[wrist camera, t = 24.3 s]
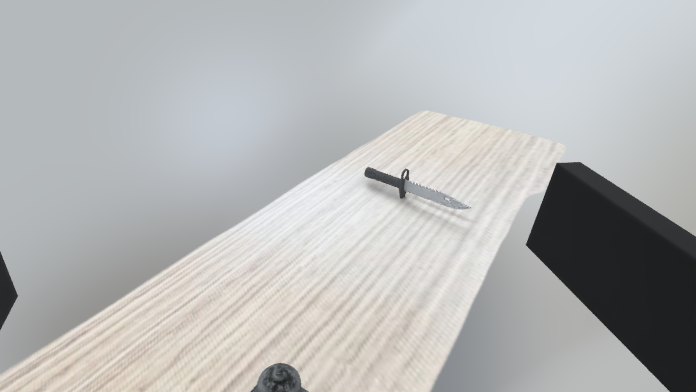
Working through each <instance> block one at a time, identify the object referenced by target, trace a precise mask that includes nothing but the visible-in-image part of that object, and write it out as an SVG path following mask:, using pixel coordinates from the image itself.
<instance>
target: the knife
mask: <svg viewBox="0 0 696 392" xmlns="http://www.w3.org/2000/svg"><path fill="white" fill-rule="evenodd" d="M406 170H407V175H406V177H405V178H404V179H403V176H404V173H405V171H406ZM365 176H366V177H368V178H371V179H376V180H378V181H381V182H383V183H386V184H389V185H391V186H394V187H397V188H399V192H400V198H403V197H404V196H405V194H406V191H407V192H409V193H412V194H415V195H417V196H420V197H423V198H425V199H428V200H431V201H434V202H436V203H439V204H442V205H444V206H447V207H451V208H454V209H469V208H471V207H469V206H467V205H465V204H463V203H461V202H459V201H458V200H456V199H454V198H452V197H450V196H448V195H447V194H445V193H443V192H441V191H439V193H438V191H437V190H436V192H435V190H434V189H432V190H431V188H429V189H428V187H424V186H421V185H420V184H419V186H418V184H417V183H416V185H415V183H414V182H413V184H412V182H411V181H409V170H408V169H404V171H403V172H402V175H401V179H399V178H397V177H393V176H391V175H388V174H386V173H383V172H380V171H377V170H375V169H373V168H370V167H368V168H366V170H365ZM425 188H426V189H425ZM445 198H448V199H450V201H447V200H445Z"/></svg>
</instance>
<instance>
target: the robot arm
mask: <svg viewBox="0 0 696 392" xmlns="http://www.w3.org/2000/svg"><path fill="white" fill-rule="evenodd" d="M526 246H527V247H528V248H529V249H530V250H531V251H532V252H533V253H534V254H535V255H536V256H537V257H538V258H539V259H540V260H541V261H542V262H543V263H544V264H545V265H546V266H547V267H548V268H549V269H550V270H551V271H552V272H553V273H554V274H555V275H556V276H557V277H558V278H559V279H560V280H561V281H562V282H563V283H564V284H565V285H566V286H567V287H568V288H569V289H570V290H571V291H572V292H573V293H574V294H575V295H576V297H577V298H579V300H580V301H581V302H582V303H583V304H584V305H585V306H586V307H587V308H588V309H589V310H590V311H591V312H592V313H593V314H594V315H595V316H596V317H597V318H598V319H599V320H600V321H601V322H602V323H603V324H604V325H605V326H606V327H607V328H608V329H609V330H610V331H611V332H612V333H613V334H614V335H615V336H616V337H617V338H618V339H619V340H620V341H621V342H622V343H623V344H624V345H625V346H626V347H627V348H628V349H629V350H630V351H631V352H632V354H634V355H635V357H636V358H637V359H638V360H639V361H640V362H641V363H642V364H643V365H644V366H645V367H647V369H648V370H649V371H650V372H651V373H652V374H653V375H654V376H655V377H656V378H657V379H658V380H659V381H660V382H661V383H662V384H663V385H664V386H665V387H666V388H667V389H668V390H669V391H670V392H696V237H695V236H694V235H692V234H691V233H689V232H688V231H686V230H684V229H683V228H681V227H680V226H678V225H677V224H675V223H674V222H672V221H670V220H669V219H667V218H666V217H664V216H663V215H661V214H660V213H658V212H657V211H655V210H653V209H652V208H650V207H649V206H647V205H646V204H644V203H643V202H641V201H639V200H638V199H636V198H635V197H633V196H632V195H630V194H629V193H627V192H626V191H624V190H622V189H621V188H619V187H617V186H616V185H615V184H613V183H612V182H610V181H608V180H607V179H605V178H604V177H602V176H601V175H599V174H597V173H596V172H594V171H593V170H591V169H590V168H588V167H587V166H585V165H584V164H582V163H580V162H573V163H557V164H556V166H555V169H554V172H553V174H552V177H551V180H550V182H549V185H548V188H547V190H546V193H545V196H544V198H543V201H542V204H541V206H540V209H539V212H538V214H537V217H536V220H535V222H534V225H533V227H532V230H531V233H530V235H529V238H528V241H527V243H526ZM17 297H18V295H17V293H16V290H15V288H14V285H13V282H12V280H11V277H10V275H9V273H8V270H7V267H6V265H5V262H4V260H3V258H2V255H1V252H0V329H1V328H2V325H3V323H4V322H5V320H6V318H7V316H8V314H9V312H10V310H11V308H12V306H13V304H14V303H15V301H16V299H17Z"/></svg>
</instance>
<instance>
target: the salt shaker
mask: <svg viewBox="0 0 696 392" xmlns="http://www.w3.org/2000/svg"><path fill="white" fill-rule="evenodd" d="M257 392H301V380H300V376H299V374H298V372H297V371H296V369H295V368H293V367H292V366H290V365H287V364H283V363H278V364H274V365H271V366H269V367H268V368H266V369H265V370H264V371H263V372H262V373H261V375H260V377H259V380H258V384H257Z"/></svg>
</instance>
